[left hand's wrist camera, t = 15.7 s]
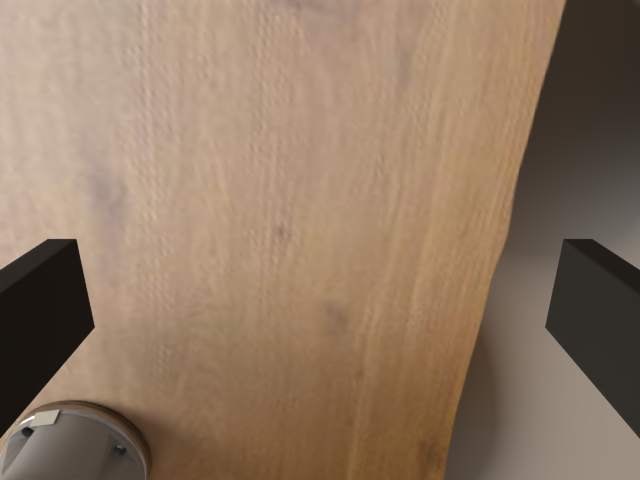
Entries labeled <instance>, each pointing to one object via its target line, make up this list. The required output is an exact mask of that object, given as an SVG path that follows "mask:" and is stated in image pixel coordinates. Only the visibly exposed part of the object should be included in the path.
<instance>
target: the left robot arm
mask: <svg viewBox="0 0 640 480" xmlns="http://www.w3.org/2000/svg"><path fill="white" fill-rule="evenodd" d="M94 328H95V326H94V321H93V316H92V311H91V307H90V302H89V297H88V292H87V288H86V283H85V278H84V273H83V268H82V264H81V259H80V254H79V249H78V245H77V240H76V239H47V240H46V241H44V242H43V243H41V244H40V245H38V246H36V247H35V248H33V249H32V250H30V251H29V252H27V253H26V254H24V255H23V256H21V257H19V258H18V259H16V260H15V261H13V262H12V263H10V264H9V265H7V266H6V267H4V268H3V269H1V270H0V438H1V437H2V436H3V435H4V433H5V432H6V431H7V430H8V429H9V428H10V426H11V425H12V424H13V423H14V422H15V421H16V419H17V418H18V417H19V416H20V415H21V413H22V412H23V411H24V410H25V409H26V408H27V406H28V405H29V404H30V403H31V402H32V401H33V399H34V398H35V397H36V396H37V395H38V393H39V392H40V391H41V390H42V389H43V388H44V386H45V385H46V384H47V383H48V382H49V381H50V379H51V378H52V377H53V376H54V375H55V373H56V372H57V371H58V370H59V369H60V368H61V366H62V365H63V364H64V363H65V362H66V361H67V359H68V358H69V357H70V356H71V355H72V353H73V352H74V351H75V350H76V349H77V348H78V346H79V345H80V344H81V343H82V342H83V341H84V339H85V338H86V337H87V336H88V335H89V333H90V332H91V331H92V330H93V329H94ZM545 328H546V329H547V330H548V331H549V332H550V333H551V335H552V336H553V337H554V338H555V339H556V341H557V342H558V343H559V344H560V345H561V346H562V348H563V349H564V350H565V351H566V352H567V353H568V355H569V356H570V357H571V358H572V359H573V361H574V362H575V363H576V364H577V365H578V366H579V368H580V369H581V370H582V371H583V372H584V373H585V375H586V376H587V377H588V378H589V379H590V380H591V382H592V383H593V384H594V385H595V386H596V388H597V389H598V390H599V391H600V392H601V393H602V395H603V396H604V397H605V398H606V399H607V401H608V402H609V403H610V404H611V405H612V406H613V408H614V409H615V410H616V411H617V412H618V413H619V415H620V416H621V417H622V418H623V419H624V421H625V422H626V423H627V424H628V425H629V426H630V428H631V429H632V430H633V431H634V432H635V433H636V435H637V436H638V437H639V438H640V270H639V269H637V268H636V267H634V266H633V265H631V264H630V263H628V262H627V261H625V260H624V259H622V258H621V257H619V256H617V255H616V254H614V253H613V252H611V251H610V250H608V249H607V248H605V247H604V246H602V245H600V244H599V243H597V242H596V241H594V240H593V239H564V240H563V245H562V249H561V254H560V259H559V264H558V268H557V273H556V278H555V283H554V288H553V292H552V297H551V302H550V307H549V311H548V316H547V321H546V326H545ZM150 469H151V456H150V452H149V448H148V446H147V444H146V442H145V440H144V438H143V437H142V435H141V434H140V433H139V432H138V430H137V429H136V428H135V427H134V426H133V425H132V424H131V423H129V422H128V421H127V420H126V419H124V418H123V417H121V416H120V415H118V414H116V413H114V412H112V411H110V410H108V409H106V408H103V407H101V406H97V405H94V404H90V403H85V402H77V401H61V402H54V403H50V404H46V405H43V406H40V407H38V408H36V409H34V410H33V411H31V412H30V413H28V414H27V415H26V416H25V417H24V418H23V419H22V420H21V421H20V422H19V423H18V425H17V426H16V427H15V428H14V429H13V431H12V432H11V433H10V434H9V436H8V438H7V439H6V442H5V444H4V447H3V450H2V453H1V455H0V480H147V478H148V475H149V473H150Z"/></svg>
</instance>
